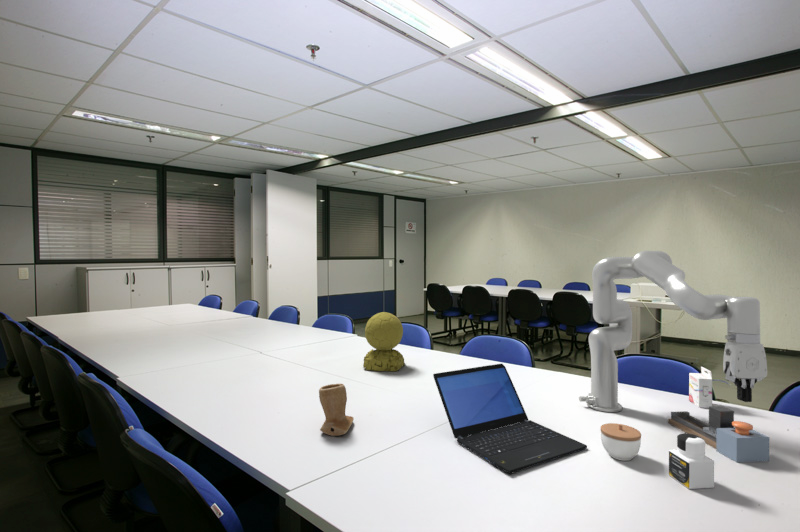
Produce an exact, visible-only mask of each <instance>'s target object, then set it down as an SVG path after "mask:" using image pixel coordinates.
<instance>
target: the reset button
mask: <svg viewBox="0 0 800 532" xmlns="http://www.w3.org/2000/svg"><path fill="white" fill-rule="evenodd" d="M732 426H734V428H735V433H738V434H740V435H742V436H745V435H749V430H754V425H753V424H751V423H748V422H746V421H740V420H734V421H733V422H732Z"/></svg>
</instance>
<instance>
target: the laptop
mask: <svg viewBox="0 0 800 532" xmlns="http://www.w3.org/2000/svg"><path fill="white" fill-rule="evenodd" d="M432 376H433V379H434V380H433V381H434V382H435V385H436V388H437V391H438V394H439V397H440V400H441V403H442V405H443V408H444V411H445V414H446V416H447V419H448V423H449V426H450V429H451V431H452V434H453V437H454V439H456V442H457V443H458V444H460V445H462V446H464V447H465V448H466V449H468V450H470V451H471V452H473V453H474V454H476V455H478V456H479V457H481V458H482V459H484V460H485V461H487V462H489V463H490V464H492V465H494V466H495V467H497V468H498V469H500V470H502V471H503V472H505V473H508V474H509V475H511V474H513V473H516V472H521V471H522V470H525V469H528V468H530V467H533V466H537V465H540V464H542V463H543V464H544V463H546V462H549V461H553V460H556V459H558V458H562V457H564V456H568V455H570V454H574V453H578V452H580V451H584V450H586V449H587V448H588V445H587V444H585V443H583V442H580V441H578V440H575V439H574V438H571V437H570V436H567V435H564V434H562V433H560V432H558V431H556V430H553V429H551V428H548V427H546V426H544V425H542V424H540V423H537V422H535V421H533V420H529V417H528V415H527V413H526V411H525V408H524V406H523V404H522V402H521V399H520V396H519V395H518V392H517V390H516V387H515V385H514V383H513V381H512V379H511V376H510V375H509V372H508V369H507V368H506V366H505V365H504V364H503V363H497V364H489V365H482V366H477V367H469V368H463V369H457V370H456V369H455V370H451V371H450V370H449V371H444V372H443V371H442V372H436V373H433V374H432Z"/></svg>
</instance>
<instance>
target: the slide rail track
mask: <svg viewBox="0 0 800 532" xmlns="http://www.w3.org/2000/svg"><path fill="white" fill-rule="evenodd" d="M690 414H691V413H690V412H689V411H688V410H687V411H670V417H669V418H668V420H667V422H668V424H669V425H672V426H674V427H675V428H677V429H679V430H681V431H682V432H684V433H688V434H693V435H697V436H699V437H701V438H702V439H704V441H705V445H708V446H710V447H711V448H714V449H715V450H716V438H715V437H713V436H712V435H710V434H708V433H706V432H704V431H703V427H709V423H706V422H704V421H702V420H700V419H699V418H696V417H694V416H692V415H690Z"/></svg>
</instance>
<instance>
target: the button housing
mask: <svg viewBox="0 0 800 532" xmlns="http://www.w3.org/2000/svg"><path fill="white" fill-rule="evenodd" d="M715 450H716V452H718V453H719V454H720V455H723V456H725V457H726V458H728V459H729V460H731V461H733V462H736V463H749V462H750V463H751V462H770V436H768V435H766V434H764V433H761V432H759V431H757V430H754V429H753V430H749V435H745V436H742V435H740V434H738V433H735V427H734V428H717V435H716V449H715Z"/></svg>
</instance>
